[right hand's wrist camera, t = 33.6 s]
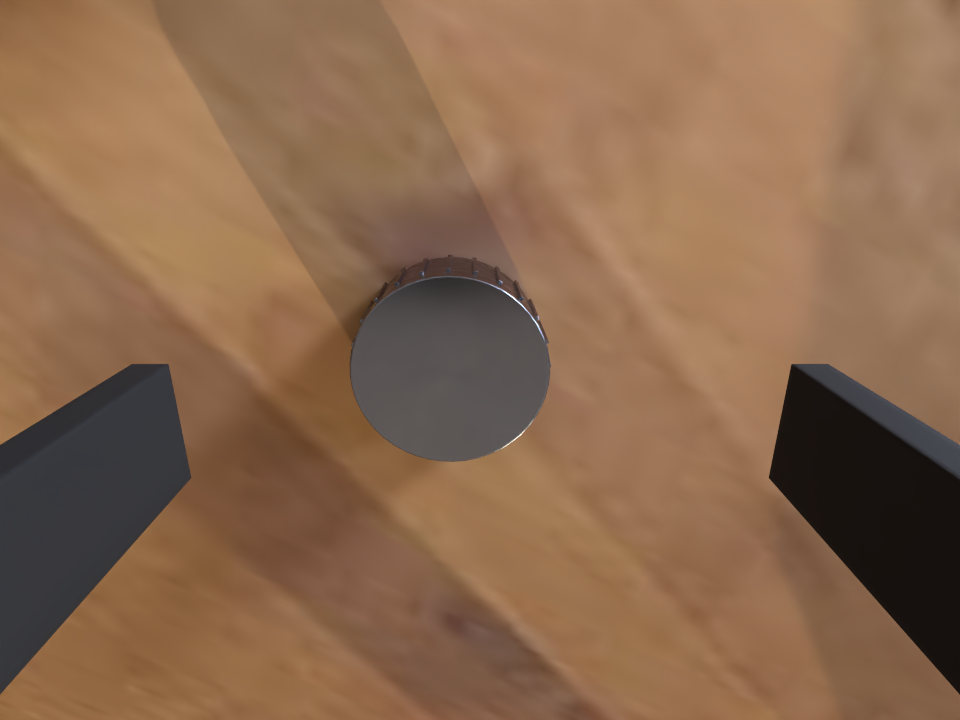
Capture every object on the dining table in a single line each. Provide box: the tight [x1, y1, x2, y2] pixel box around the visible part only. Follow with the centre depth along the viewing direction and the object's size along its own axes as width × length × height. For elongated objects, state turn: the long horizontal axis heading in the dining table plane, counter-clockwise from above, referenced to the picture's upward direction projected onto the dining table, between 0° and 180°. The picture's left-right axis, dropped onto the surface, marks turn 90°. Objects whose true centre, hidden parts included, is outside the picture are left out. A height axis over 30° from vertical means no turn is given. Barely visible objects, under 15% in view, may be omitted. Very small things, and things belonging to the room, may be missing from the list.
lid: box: [350, 255, 551, 462], centre depth 15 cm, size 5×5×2 cm
